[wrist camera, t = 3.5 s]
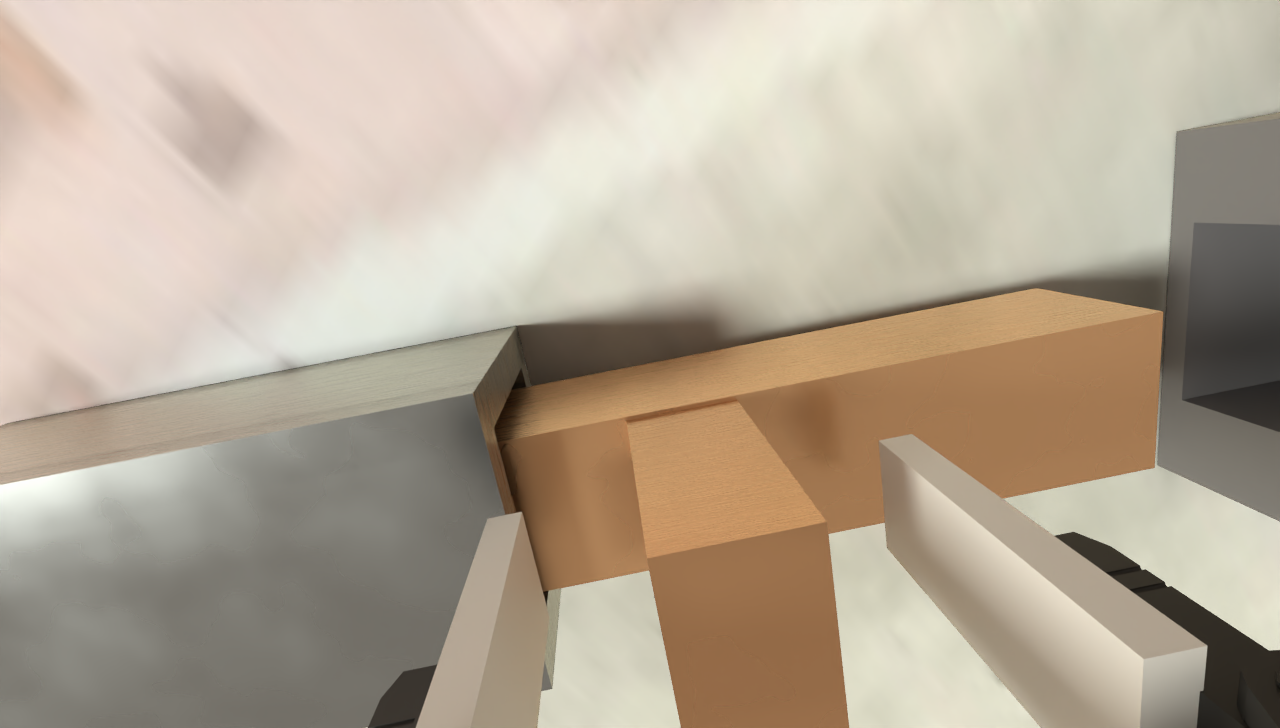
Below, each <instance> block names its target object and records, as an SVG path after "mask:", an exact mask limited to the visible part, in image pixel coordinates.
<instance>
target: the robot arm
mask: <svg viewBox="0 0 1280 728" xmlns="http://www.w3.org/2000/svg"><path fill="white" fill-rule="evenodd" d="M879 453H880V465H881V478H882V491H883V504H884V516H885V529H886V542H887V548H888V550H889V551H890V552H891V553H892V554H893V555H894V557H895V558H896V559H897V560H898V561H899V562H900V564H901V565H902V566H903V567H904V568H905V569H906V571H907V572H908V573H909V574H910V575H911V576H912V578H913V579H914V580H915V581H916V582H917V584H918V585H919V586H920V587H921V588H922V589H923V591H924V592H925V593H926V594H927V595H928V596H929V598H930V599H931V600H932V601H933V602H934V603H935V605H936V606H937V607H938V608H939V609H940V610H941V612H942V613H943V614H944V615H945V616H946V617H947V619H948V620H949V621H950V622H951V623H952V624H953V626H954V627H955V628H956V629H957V630H958V631H959V633H960V634H961V635H962V636H963V637H964V638H965V640H966V641H967V642H968V643H969V644H970V645H971V647H972V648H973V649H974V650H975V651H976V652H977V654H978V655H979V656H980V657H981V658H982V659H983V661H984V662H985V663H986V664H987V665H988V666H989V668H990V669H991V670H992V671H993V672H994V673H995V675H996V676H997V677H998V678H999V679H1000V680H1001V682H1002V683H1003V684H1004V685H1005V686H1006V687H1007V689H1008V690H1009V691H1010V692H1011V693H1012V694H1013V696H1014V697H1015V698H1016V699H1017V700H1018V701H1019V703H1020V704H1021V705H1022V706H1023V707H1024V708H1025V710H1026V711H1027V712H1028V713H1029V714H1030V715H1031V717H1032V718H1033V719H1034V720H1035V721H1036V722H1037V724H1038V725H1039V726H1040V727H1041V728H1280V650H1273V651H1269V650H1267V649H1266V648H1264V647H1263V646H1261V645H1260V644H1258V643H1257V642H1255V641H1253V640H1252V639H1250V638H1249V637H1247V636H1246V635H1244V634H1243V633H1241V632H1240V631H1238V630H1237V629H1235V628H1234V627H1232V626H1231V625H1229V624H1228V623H1226V622H1225V621H1223V620H1222V619H1220V618H1219V617H1217V616H1216V615H1214V614H1212V613H1211V612H1209V611H1208V610H1206V609H1205V608H1203V607H1202V606H1200V605H1199V604H1197V603H1196V602H1194V601H1193V600H1191V599H1190V598H1188V597H1187V596H1185V595H1184V594H1182V593H1181V592H1179V591H1178V590H1176V589H1175V588H1173V587H1171V586H1170V587H1167V586H1166V585H1165V582H1164V581H1162V580H1161V579H1159V578H1158V577H1156V576H1155V575H1153V574H1152V573H1150V572H1149V571H1147V570H1142V569H1141V568H1140V565H1138V564H1137V563H1135V562H1134V561H1132V560H1131V559H1129V558H1127V557H1126V556H1124V555H1123V554H1121V553H1120V552H1118V551H1117V550H1115V549H1114V548H1112V547H1111V546H1109V545H1106V544H1103V543H1101V542H1098V541H1096V540H1093V539H1090V538H1088V537H1085V536H1083V535H1080V534H1078V533H1075V532H1071V533H1066V534H1061V535H1056V536H1054V535H1052V534H1051V533H1049V532H1048V531H1047V530H1045V529H1044V528H1042V527H1041V526H1040V525H1038V524H1037V523H1035V522H1034V521H1033V520H1031V519H1030V518H1028V517H1027V516H1026V515H1024V514H1023V513H1021V512H1020V511H1019V510H1017V509H1016V508H1014V507H1013V506H1012V505H1010V504H1009V503H1008V502H1006V501H1005V500H1003V499H1002V498H1001V497H999V496H998V495H996V494H995V493H994V492H992V491H991V490H989V489H988V488H987V487H985V486H984V485H982V484H981V483H980V482H978V481H977V480H975V479H974V478H973V477H971V476H970V475H968V474H967V473H966V472H964V471H963V470H961V469H960V468H959V467H957V466H956V465H955V464H953V463H952V462H950V461H949V460H948V459H946V458H945V457H943V456H942V455H941V454H939V453H938V452H936V451H935V450H934V449H932V448H931V447H929V446H928V445H927V444H925V443H924V442H922V441H921V440H920V439H918V438H917V437H915V436H914V435H913V434H909V435H904V436H899V437H894V438H889V439H884V440H879ZM548 624H549V613H548V610H547V606H546V602H545V598H544V594H543V590H542V587H541V583H540V579H539V575H538V571H537V567H536V564H535V560H534V556H533V552H532V548H531V544H530V541H529V537H528V533H527V529H526V525H525V521H524V518H523V514H522V512H518V513H513V514H508V515H503V516H498V517H493V518H488V519H487V522H486V524H485V527H484V530H483V533H482V536H481V539H480V542H479V545H478V548H477V551H476V554H475V556H474V559H473V562H472V565H471V568H470V571H469V574H468V577H467V580H466V583H465V586H464V589H463V591H462V594H461V597H460V600H459V603H458V606H457V609H456V612H455V615H454V618H453V621H452V623H451V626H450V629H449V632H448V635H447V638H446V641H445V644H444V647H443V650H442V653H441V655H440V658H439V661H438V664H437V665H433V666H428V667H423V668H418V669H413V670H408V671H403V673H402V674H401V675H400V676H399V677H398V678H397V680H396V681H395V682H394V683H393V684H392V686H391V687H390V688H389V689H388V690H387V691H386V693H385V694H384V695H383V696H382V697H381V699H380V701H379V703H378V705H377V708H376V710H375V712H374V715H373V717H372V719H371V722H370V724H369V726H368V728H537V724H538V715H539V706H540V697H541V688H542V679H543V670H544V661H545V652H546V643H547V633H548Z"/></svg>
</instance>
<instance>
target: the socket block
mask: <svg viewBox="0 0 1280 728" xmlns="http://www.w3.org/2000/svg"><path fill="white" fill-rule="evenodd" d="M1157 465H1158V466H1160V467H1163V468H1165V469H1167V470H1169V471H1171V472H1173V473H1176V474H1178V475H1180V476H1182V477H1184V478H1187V479H1189V480H1191V481H1193V482H1195V483H1197V484H1200V485H1202V486H1204V487H1206V488H1208V489H1210V490H1213V491H1215V492H1217V493H1219V494H1221V495H1223V496H1226V497H1228V498H1230V499H1232V500H1234V501H1237V502H1239V503H1241V504H1243V505H1245V506H1247V507H1250V508H1252V509H1254V510H1256V511H1258V512H1260V513H1263V514H1265V515H1267V516H1269V517H1271V518H1274V519H1276V520H1278V521H1280V112H1278V113H1273V114H1268V115H1262V116H1257V117H1252V118H1247V119H1241V120H1236V121H1231V122H1225V123H1220V124H1215V125H1209V126H1204V127H1199V128H1194V129H1188V130H1183V131H1178V132H1177V136H1176V154H1175V171H1174V188H1173V205H1172V222H1171V240H1170V257H1169V274H1168V291H1167V308H1166V325H1165V343H1164V360H1163V377H1162V394H1161V411H1160V428H1159V446H1158V463H1157Z"/></svg>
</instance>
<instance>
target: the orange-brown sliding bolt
mask: <svg viewBox="0 0 1280 728" xmlns="http://www.w3.org/2000/svg"><path fill="white" fill-rule="evenodd" d="M1162 327H1163V311H1158V310H1153V309H1147V308H1142V307H1136V306H1131V305H1126V304H1120V303H1115V302H1109V301H1104V300H1099V299H1093V298H1088V297H1082V296H1077V295H1071V294H1066V293H1061V292H1055V291H1050V290H1044V289H1039V288H1034V289H1029V290H1024V291H1019V292H1013V293H1008V294H1003V295H998V296H993V297H988V298H983V299H977V300H972V301H967V302H962V303H957V304H952V305H947V306H941V307H936V308H931V309H926V310H921V311H916V312H910V313H905V314H900V315H895V316H890V317H885V318H880V319H874V320H869V321H864V322H859V323H854V324H849V325H844V326H838V327H833V328H828V329H823V330H818V331H813V332H808V333H802V334H797V335H792V336H787V337H782V338H777V339H772V340H766V341H761V342H756V343H751V344H746V345H741V346H735V347H730V348H725V349H720V350H715V351H710V352H705V353H699V354H694V355H689V356H684V357H679V358H674V359H669V360H663V361H658V362H653V363H648V364H643V365H638V366H633V367H627V368H622V369H617V370H612V371H607V372H602V373H597V374H591V375H586V376H581V377H576V378H571V379H566V380H560V381H555V382H550V383H545V384H540V385H535V386H530V387H524V388H519V389H514V390H511V391H510V393H509V396H508V398H507V400H506V402H505V404H504V407H503V409H502V411H501V413H500V415H499V418H498V420H497V422H496V424H495V426H494V431H495V435H496V439H497V442H498V446H499V450H500V454H501V457H502V461H503V465H504V469H505V473H506V476H507V480H508V484H509V488H510V492H511V495H512V499H513V503H514V507H515V511H516V513H518V512H522V514H523V518H524V521H525V525H526V529H527V533H528V537H529V541H530V544H531V548H532V552H533V556H534V560H535V564H536V567H537V571H538V575H539V579H540V583H541V587H542V590H543V592H545V591H549V590H554V589H559V588H564V587H569V586H574V585H579V584H584V583H589V582H594V581H599V580H604V579H609V578H614V577H618V576H623V575H628V574H633V573H638V572H643V571H648V570H649V571H650V576H651V581H652V586H653V591H654V596H655V601H656V606H657V611H658V616H659V621H660V626H661V631H662V635H663V640H664V645H665V650H666V655H667V660H668V665H669V670H670V675H671V680H672V685H673V690H674V695H675V700H676V705H677V709H678V714H679V719H680V724H681V728H849V722H848V713H847V703H846V694H845V685H844V676H843V666H842V657H841V648H840V638H839V629H838V620H837V611H836V601H835V592H834V583H833V573H832V564H831V555H830V545H829V536H828V534H830V533H835V532H840V531H845V530H850V529H855V528H860V527H865V526H870V525H875V524H880V523H885V516H884V504H883V491H882V478H881V465H880V453H879V440H884V439H889V438H894V437H899V436H904V435H909V434H913V435H914V436H915V437H917V438H918V439H920V440H921V441H922V442H924V443H925V444H927V445H928V446H929V447H931V448H932V449H934V450H935V451H936V452H938V453H939V454H941V455H942V456H943V457H945V458H946V459H948V460H949V461H950V462H952V463H953V464H955V465H956V466H957V467H959V468H960V469H961V470H963V471H964V472H966V473H967V474H968V475H970V476H971V477H973V478H974V479H975V480H977V481H978V482H980V483H981V484H982V485H984V486H985V487H987V488H988V489H989V490H991V491H992V492H994V493H995V494H996V495H998V496H999V497H1001V498H1002V499H1003V498H1008V497H1013V496H1018V495H1023V494H1028V493H1032V492H1037V491H1042V490H1047V489H1052V488H1057V487H1062V486H1067V485H1072V484H1077V483H1082V482H1087V481H1092V480H1097V479H1101V478H1106V477H1111V476H1116V475H1121V474H1126V473H1131V472H1136V471H1141V470H1146V469H1151V468H1154V467H1155V450H1156V432H1157V414H1158V397H1159V379H1160V362H1161V344H1162Z"/></svg>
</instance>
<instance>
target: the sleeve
mask: <svg viewBox="0 0 1280 728" xmlns="http://www.w3.org/2000/svg"><path fill="white" fill-rule="evenodd" d="M530 386H531V383H530V379H529V375H528V371H527V367H526V362H525V358H524V354H523V350H522V346H521V342H520V338H519V333H518V329H517V326H513V327H508V328H503V329H498V330H492V331H487V332H482V333H477V334H471V335H466V336H461V337H456V338H451V339H445V340H440V341H435V342H430V343H424V344H419V345H414V346H409V347H404V348H398V349H393V350H388V351H383V352H378V353H372V354H367V355H362V356H357V357H351V358H346V359H341V360H336V361H331V362H325V363H320V364H315V365H310V366H304V367H299V368H294V369H289V370H284V371H278V372H273V373H268V374H263V375H258V376H252V377H247V378H242V379H237V380H231V381H226V382H221V383H216V384H211V385H205V386H200V387H195V388H190V389H184V390H179V391H174V392H169V393H164V394H158V395H153V396H148V397H143V398H138V399H132V400H127V401H122V402H117V403H111V404H106V405H101V406H96V407H91V408H85V409H80V410H75V411H70V412H64V413H59V414H54V415H49V416H44V417H38V418H33V419H28V420H23V421H18V422H12V423H7V424H5V425H2V426H0V728H365V727H368V726H369V724H370V722H371V719H372V717H373V715H374V712H375V710H376V708H377V705H378V703H379V701H380V699H381V697H382V696H383V695H384V694H385V693H386V691H387V690H388V689H389V688H390V687H391V686H392V684H393V683H394V682H395V681H396V680H397V678H398V677H399V676H400V675H401V674H402V673H403V671H408V670H413V669H418V668H423V667H428V666H433V665H437V664H438V661H439V658H440V655H441V653H442V650H443V647H444V644H445V641H446V638H447V635H448V632H449V629H450V626H451V623H452V621H453V618H454V615H455V612H456V609H457V606H458V603H459V600H460V597H461V594H462V591H463V589H464V586H465V583H466V580H467V577H468V574H469V571H470V568H471V565H472V562H473V559H474V556H475V554H476V551H477V548H478V545H479V542H480V539H481V536H482V533H483V530H484V527H485V524H486V522H487V519H488V518H493V517H498V516H503V515H508V514H513V513H516V511H515V507H514V503H513V499H512V495H511V492H510V488H509V484H508V480H507V476H506V473H505V469H504V465H503V461H502V457H501V454H500V450H499V446H498V442H497V439H496V435H495V431H494V426H495V424H496V422H497V420H498V418H499V415H500V413H501V411H502V409H503V407H504V404H505V402H506V400H507V398H508V396H509V393H510V391H511V390H514V389H519V388H524V387H530ZM543 594H544V598H545V602H546V606H547V610H548V613H549V624H548V633H547V643H546V652H545V661H544V670H543V679H542V688H541V691H544V690H549V689H552V686H553V674H554V663H555V652H556V640H557V629H558V617H559V606H560V595H561V588H559V589H554V590H549V591H545V592H543Z"/></svg>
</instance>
